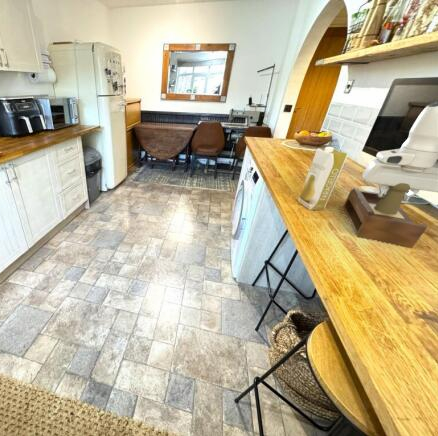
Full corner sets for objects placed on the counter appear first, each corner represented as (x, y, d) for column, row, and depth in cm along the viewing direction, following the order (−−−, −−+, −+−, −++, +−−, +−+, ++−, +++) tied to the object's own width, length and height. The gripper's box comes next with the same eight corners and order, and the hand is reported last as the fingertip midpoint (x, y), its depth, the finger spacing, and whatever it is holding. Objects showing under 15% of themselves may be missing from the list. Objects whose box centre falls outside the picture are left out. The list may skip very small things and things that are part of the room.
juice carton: (294, 201, 103) (314, 144, 90) (311, 200, 103) (334, 144, 91) (309, 211, 95) (333, 151, 82) (327, 210, 95) (354, 150, 83)
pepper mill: (400, 215, 80) (420, 185, 74) (378, 213, 81) (396, 182, 76) (391, 207, 84) (409, 178, 79) (370, 205, 86) (386, 176, 80)
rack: (386, 214, 93) (398, 193, 88) (411, 248, 74) (429, 224, 70) (342, 206, 98) (352, 186, 94) (357, 237, 80) (370, 213, 75)
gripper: (456, 159, 72) (428, 200, 79) (371, 151, 80) (353, 189, 87) (469, 166, 67) (438, 209, 74) (377, 156, 75) (357, 196, 82)
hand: (391, 198), depth 80 cm, fingers closed on pepper mill, 4 cm apart
